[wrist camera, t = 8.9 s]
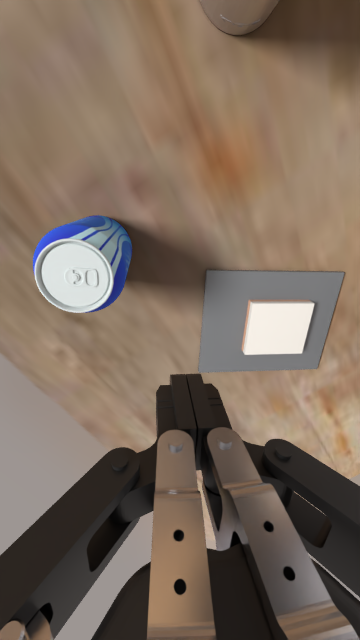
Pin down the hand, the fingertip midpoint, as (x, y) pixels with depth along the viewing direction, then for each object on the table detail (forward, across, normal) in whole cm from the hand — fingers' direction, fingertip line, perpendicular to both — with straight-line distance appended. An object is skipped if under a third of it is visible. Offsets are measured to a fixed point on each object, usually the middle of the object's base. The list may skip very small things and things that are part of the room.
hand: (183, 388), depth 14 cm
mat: (+29, -18, +10) cm, 36 cm away
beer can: (+29, +8, -2) cm, 30 cm away
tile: (+28, -14, +10) cm, 32 cm away
